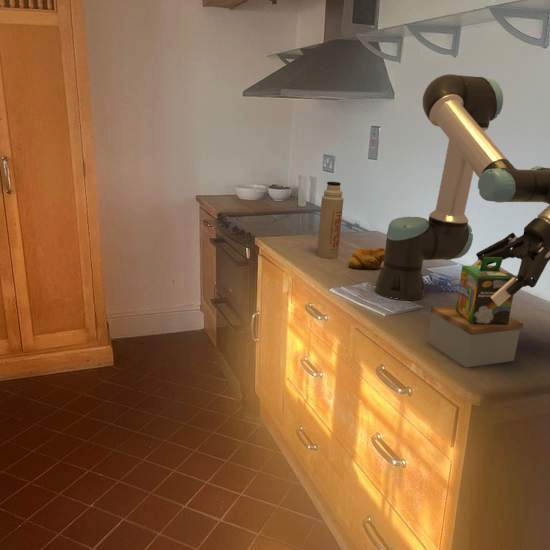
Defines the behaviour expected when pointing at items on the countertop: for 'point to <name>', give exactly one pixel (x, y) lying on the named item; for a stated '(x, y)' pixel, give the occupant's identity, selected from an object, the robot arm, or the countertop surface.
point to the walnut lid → (458, 320)
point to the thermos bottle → (330, 221)
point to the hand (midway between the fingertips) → (477, 291)
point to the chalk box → (483, 293)
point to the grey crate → (472, 343)
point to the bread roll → (367, 258)
